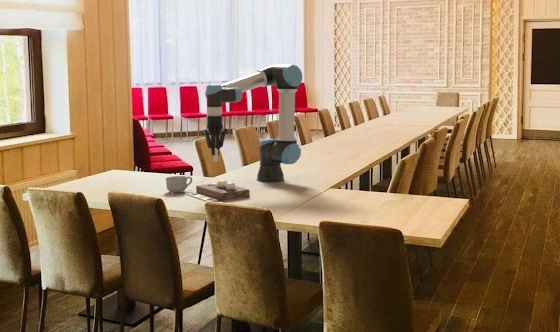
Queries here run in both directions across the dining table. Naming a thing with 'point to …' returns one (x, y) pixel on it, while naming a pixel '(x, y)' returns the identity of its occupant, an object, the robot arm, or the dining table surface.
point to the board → (222, 192)
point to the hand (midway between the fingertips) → (215, 161)
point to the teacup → (177, 183)
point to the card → (202, 197)
